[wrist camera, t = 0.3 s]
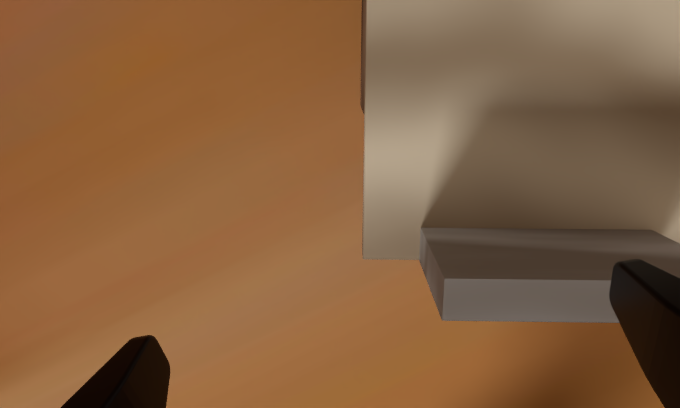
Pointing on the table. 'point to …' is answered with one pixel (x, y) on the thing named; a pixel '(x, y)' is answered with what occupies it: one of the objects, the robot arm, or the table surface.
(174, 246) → the table surface
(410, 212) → the lid
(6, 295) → the table surface
